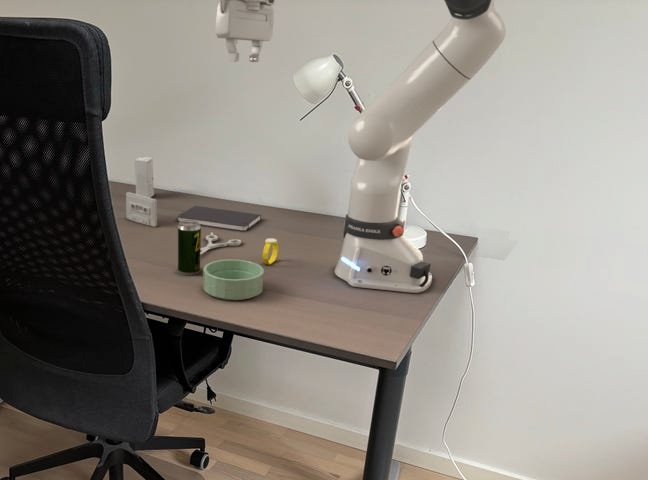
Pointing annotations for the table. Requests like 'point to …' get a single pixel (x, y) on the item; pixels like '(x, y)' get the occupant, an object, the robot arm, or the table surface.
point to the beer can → (189, 247)
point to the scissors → (214, 238)
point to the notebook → (220, 218)
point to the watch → (266, 251)
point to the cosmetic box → (144, 176)
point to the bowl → (233, 279)
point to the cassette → (139, 215)
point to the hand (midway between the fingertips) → (244, 61)
